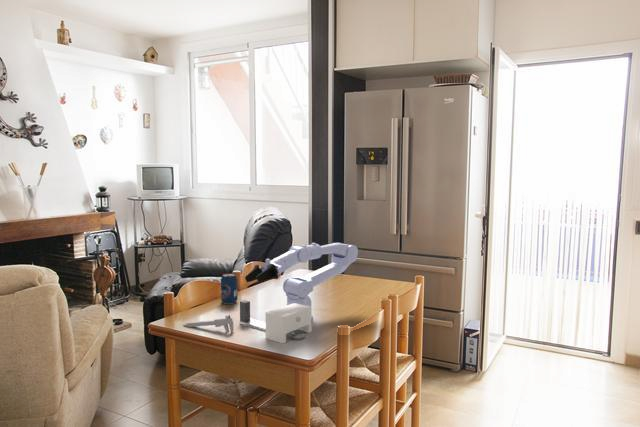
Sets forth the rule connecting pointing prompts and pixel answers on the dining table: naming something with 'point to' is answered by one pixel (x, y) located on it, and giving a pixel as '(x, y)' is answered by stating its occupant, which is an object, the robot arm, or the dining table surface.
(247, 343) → the dining table surface
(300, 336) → the token
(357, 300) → the dining table surface
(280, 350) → the dining table surface
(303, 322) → the cabinet
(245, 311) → the grey piece
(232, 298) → the soda can
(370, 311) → the dining table surface
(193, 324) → the caliper
